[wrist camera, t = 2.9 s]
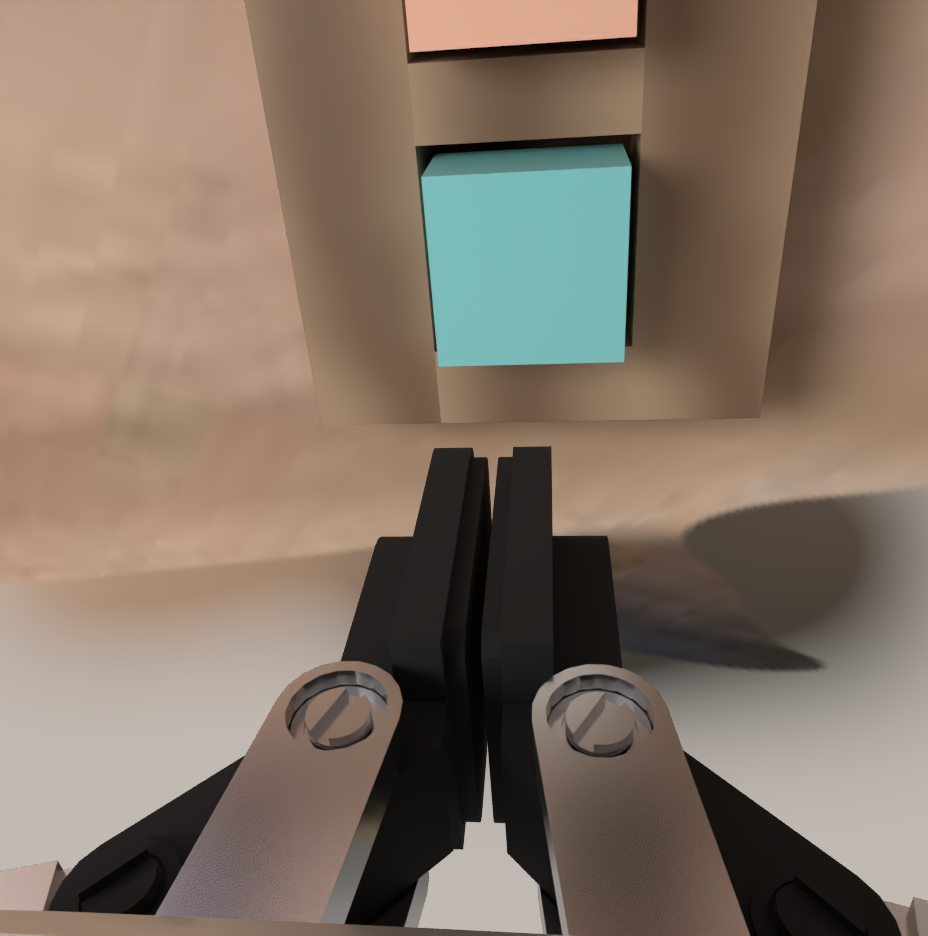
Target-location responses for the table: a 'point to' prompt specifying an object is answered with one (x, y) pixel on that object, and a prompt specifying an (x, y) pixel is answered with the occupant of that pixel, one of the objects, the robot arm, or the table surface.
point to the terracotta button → (515, 22)
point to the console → (527, 118)
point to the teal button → (529, 254)
